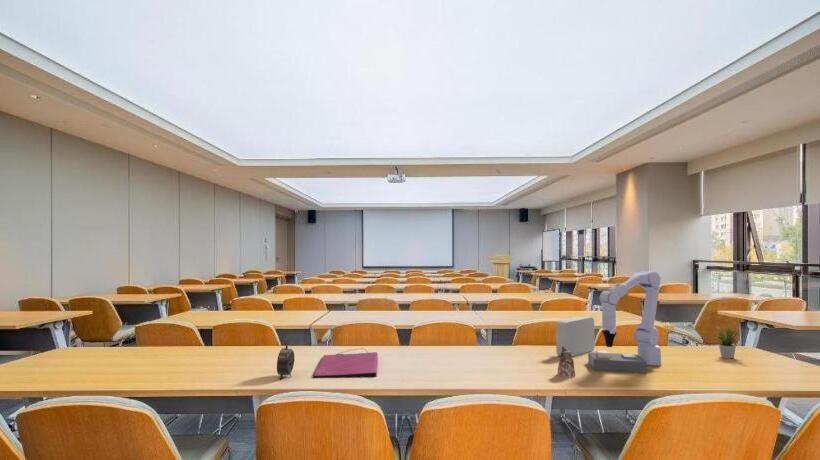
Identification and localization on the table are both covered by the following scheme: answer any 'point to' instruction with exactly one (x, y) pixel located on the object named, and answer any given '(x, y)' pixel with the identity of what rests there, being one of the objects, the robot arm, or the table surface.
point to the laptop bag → (347, 365)
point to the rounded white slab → (575, 335)
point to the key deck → (617, 363)
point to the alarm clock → (285, 361)
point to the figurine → (566, 364)
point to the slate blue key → (628, 356)
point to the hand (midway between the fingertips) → (609, 346)
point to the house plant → (727, 343)
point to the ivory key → (603, 354)
